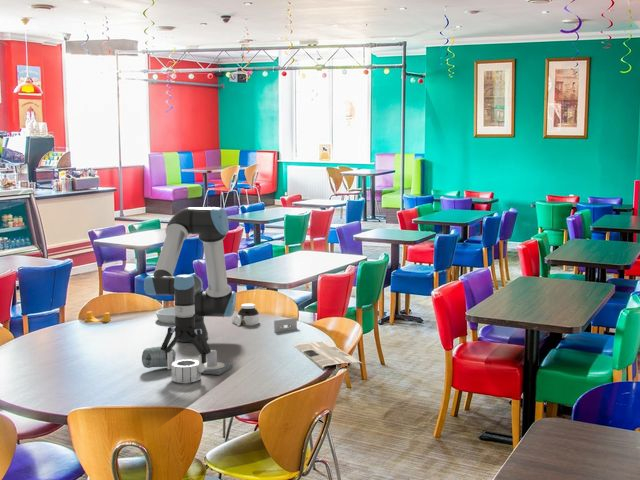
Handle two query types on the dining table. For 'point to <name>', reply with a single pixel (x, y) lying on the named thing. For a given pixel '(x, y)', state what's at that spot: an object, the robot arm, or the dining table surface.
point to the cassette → (289, 322)
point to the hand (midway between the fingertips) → (185, 370)
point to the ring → (185, 371)
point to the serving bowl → (166, 315)
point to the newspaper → (325, 354)
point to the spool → (155, 357)
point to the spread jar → (246, 315)
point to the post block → (215, 364)
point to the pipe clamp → (92, 319)
